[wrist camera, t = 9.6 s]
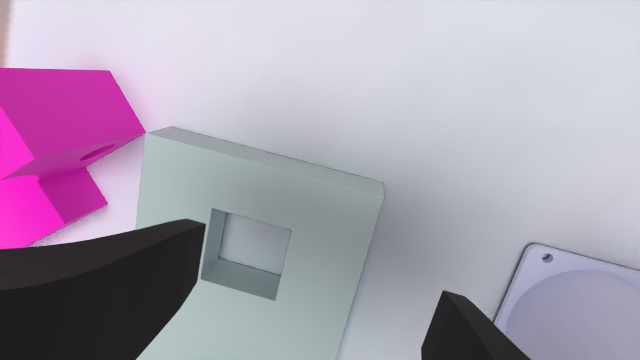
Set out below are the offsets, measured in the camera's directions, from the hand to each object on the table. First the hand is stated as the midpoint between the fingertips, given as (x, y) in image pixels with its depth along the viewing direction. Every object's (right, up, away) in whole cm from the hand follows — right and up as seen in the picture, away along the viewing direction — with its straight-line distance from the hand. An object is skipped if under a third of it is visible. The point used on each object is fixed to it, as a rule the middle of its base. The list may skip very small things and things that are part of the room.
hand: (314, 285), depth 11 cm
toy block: (-16, +3, +12) cm, 21 cm away
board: (-5, -5, +12) cm, 14 cm away
